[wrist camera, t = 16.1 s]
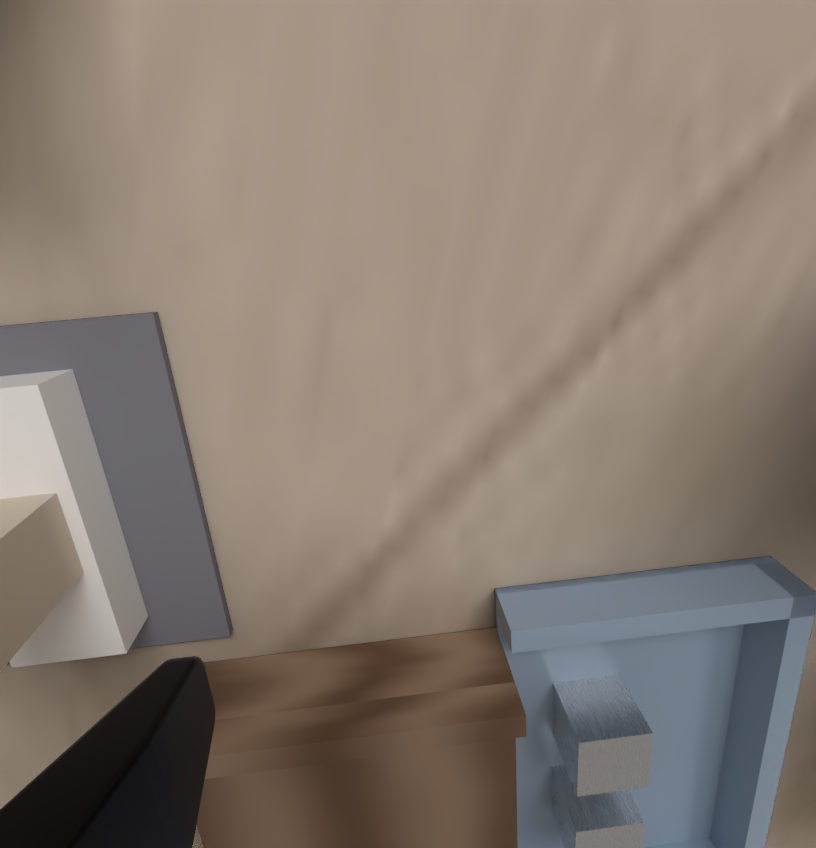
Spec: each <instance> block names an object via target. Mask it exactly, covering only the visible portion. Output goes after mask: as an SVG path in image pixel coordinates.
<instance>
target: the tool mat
mask: <svg viewBox="0 0 816 848" xmlns="http://www.w3.org/2000/svg"><path fill="white" fill-rule="evenodd" d="M69 369H73V372H74V375H75V379H76V382H77V385H78V388H79V392H80V395H81V398H82V401H83V405H84V408H85V411H86V415H87V418H88V421H89V424H90V428H91V431H92V434H93V437H94V441H95V444H96V447H97V451H98V454H99V457H100V460H101V464H102V467H103V470H104V473H105V477H106V480H107V483H108V487H109V490H110V493H111V496H112V500H113V503H114V506H115V509H116V513H117V516H118V519H119V523H120V526H121V529H122V532H123V536H124V539H125V542H126V545H127V549H128V552H129V555H130V559H131V562H132V565H133V568H134V572H135V575H136V578H137V581H138V585H139V588H140V591H141V595H142V598H143V601H144V604H145V608H146V611H147V614H148V617H147V619H146V621H145V622H144V624H143V626H142V628H141V629H140V631H139V633H138V635H137V636H136V638H135V640H134V642H133V643H132V645H131V647H130V649H132V648H140V647H148V646H157V645H165V644H173V643H182V642H190V641H198V640H207V639H215V638H223V637H230V636H231V633H232V630H233V629H232V625H231V621H230V617H229V612H228V608H227V604H226V600H225V596H224V591H223V587H222V583H221V579H220V574H219V570H218V566H217V562H216V558H215V553H214V549H213V545H212V541H211V536H210V532H209V528H208V524H207V519H206V515H205V511H204V507H203V503H202V498H201V494H200V490H199V486H198V481H197V477H196V473H195V469H194V464H193V460H192V456H191V452H190V448H189V443H188V439H187V435H186V431H185V426H184V422H183V418H182V414H181V409H180V405H179V401H178V397H177V393H176V388H175V384H174V380H173V376H172V371H171V367H170V363H169V359H168V354H167V350H166V346H165V342H164V338H163V333H162V329H161V325H160V321H159V316H158V312H149V313H138V314H127V315H116V316H105V317H94V318H83V319H72V320H61V321H50V322H39V323H28V324H17V325H6V326H0V376H9V375H19V374H29V373H39V372H49V371H59V370H69ZM8 663H10V662H8Z"/></svg>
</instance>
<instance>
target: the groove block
mask: <svg viewBox="0 0 816 848" xmlns="http://www.w3.org/2000/svg"><path fill="white" fill-rule="evenodd" d="M204 666H205V669H206V673H207V677H208V680H209V684H210V688H211V692H212V695H213V699H214V703H215V725H214V731H213V736H212V742H211V747H210V753H209V758H208V764H207V769H206V775H205V780H204V786H203V791H202V797H201V802H200V808H199V813H198V819H197V827H198V830H199V833H200V836H201V839H202V843H203V846H204V848H518V841H517V782H516V738H520V737H526V713H525V710H524V707H523V705H522V702H521V699H520V696H519V693H518V690H517V687H516V684H515V681H514V678H513V675H512V672H511V669H510V666H509V664H508V661H507V658H506V655H505V652H504V649H503V646H502V643H501V640H500V637H499V634H498V631H497V628H496V627H495V628H486V629H478V630H470V631H462V632H454V633H445V634H437V635H429V636H421V637H413V638H404V639H396V640H388V641H380V642H371V643H363V644H355V645H347V646H339V647H330V648H322V649H314V650H306V651H298V652H289V653H281V654H273V655H265V656H257V657H248V658H240V659H232V660H224V661H215V662H207V663H204Z"/></svg>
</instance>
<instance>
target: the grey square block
mask: <svg viewBox="0 0 816 848" xmlns="http://www.w3.org/2000/svg"><path fill="white" fill-rule="evenodd" d="M552 812H553V815H554V818H555V821H556V824H557V827H558V830H559V833H560V836H561V840H562V843H563V846H564V848H642V843H643V833H644V821H643V818H642V816H641V814H640V812H639V810H638V808H637V806H636V804H635V802H634V800H633V798H632V796H631V794H630V791H629V790H623V791H615V792H608V793H601V794H594V795H586V796H579V797H577V795H576V793H575V790H574V787H573V785H572V782H571V780H570V777H569V774H568V772H567V769H566V767H565V765H557V766H552Z"/></svg>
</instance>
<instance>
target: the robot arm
mask: <svg viewBox="0 0 816 848" xmlns="http://www.w3.org/2000/svg"><path fill="white" fill-rule="evenodd" d="M214 725H215V703H214V699H213V695H212V692H211V688H210V684H209V680H208V677H207V673H206V669H205V666H204V663H203V661H202V660H201V658H199V657H196V656H193V657H184V658H175V659H170V660H167V661H165V662H164V663H163V664H161V665H160V666H159V667H158V668H157V669H156V670H155V671H154V672H152V673H151V674H150V675H149V676H148V677H147V678H146V679H145V680H144V681H142V682H141V683H140V684H139V685H138V686H137V687H136V688H135V689H134V690H132V691H131V692H130V693H129V694H128V695H127V696H126V697H125V698H124V699H122V700H121V701H120V702H119V703H118V704H117V705H116V706H115V707H114V708H113V709H111V710H110V711H109V712H108V713H107V714H106V715H105V716H104V717H103V718H101V719H100V720H99V721H98V722H97V723H96V724H95V725H94V726H93V727H91V728H90V729H89V730H88V731H87V732H86V733H85V734H84V735H83V736H81V737H80V738H79V739H78V740H77V741H76V742H75V743H74V744H73V745H71V746H70V747H69V748H68V749H67V750H66V751H65V752H64V753H63V754H61V755H60V756H59V757H58V758H57V759H56V760H55V761H54V762H53V763H51V764H50V765H49V766H48V767H47V768H46V769H45V770H44V771H43V772H41V773H40V774H39V775H38V776H37V777H36V778H35V779H34V780H33V781H31V782H30V783H29V784H28V785H27V786H26V787H25V788H24V789H23V790H21V791H20V792H19V793H18V794H17V795H16V796H15V797H14V798H13V799H11V800H10V801H9V802H8V803H7V804H6V805H5V806H4V807H3V808H2V809H0V848H192V845H193V840H194V835H195V830H196V824H197V819H198V813H199V808H200V802H201V797H202V791H203V786H204V780H205V775H206V769H207V764H208V758H209V753H210V747H211V742H212V736H213V731H214Z"/></svg>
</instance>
